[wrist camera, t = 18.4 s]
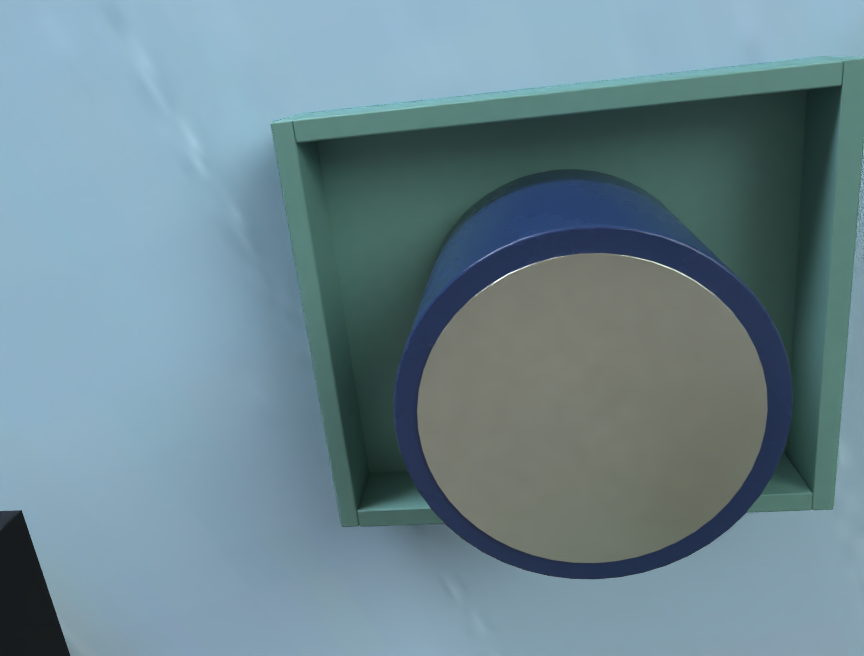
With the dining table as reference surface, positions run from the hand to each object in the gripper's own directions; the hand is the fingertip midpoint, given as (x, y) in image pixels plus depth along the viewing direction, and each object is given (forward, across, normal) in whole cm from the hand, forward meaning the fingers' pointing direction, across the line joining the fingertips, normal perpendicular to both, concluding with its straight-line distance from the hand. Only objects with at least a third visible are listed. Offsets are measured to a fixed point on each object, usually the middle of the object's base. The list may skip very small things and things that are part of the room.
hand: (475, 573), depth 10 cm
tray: (+21, +3, -3) cm, 22 cm away
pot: (+15, +3, -9) cm, 18 cm away
